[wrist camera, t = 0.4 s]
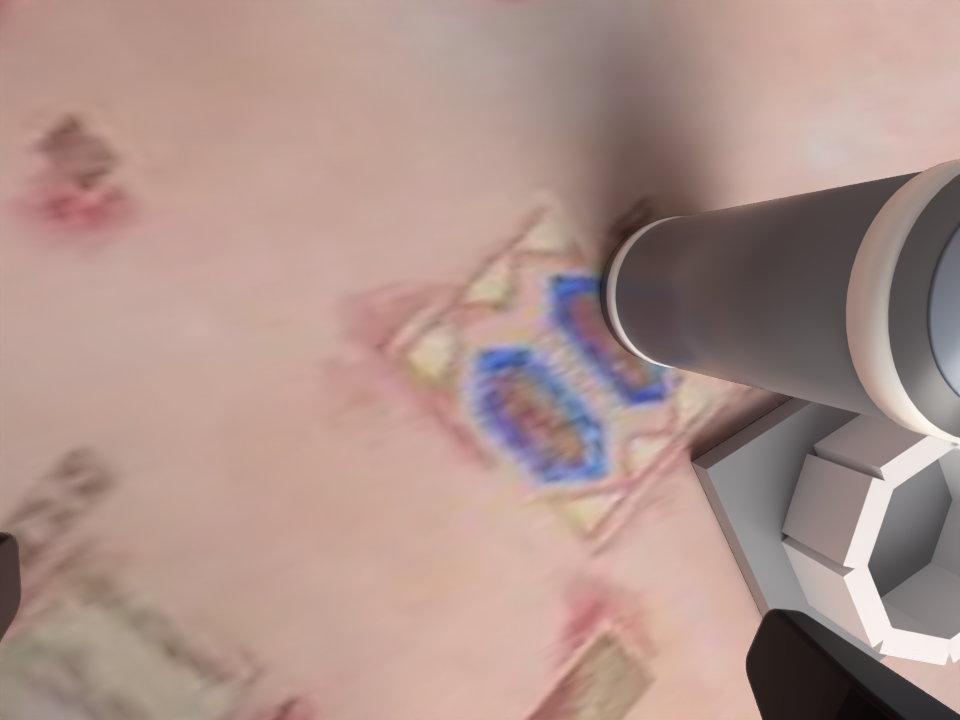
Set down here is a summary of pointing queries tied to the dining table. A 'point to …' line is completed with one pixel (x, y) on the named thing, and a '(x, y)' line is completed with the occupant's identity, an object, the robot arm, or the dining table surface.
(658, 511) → the dining table surface
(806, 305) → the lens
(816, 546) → the stand
